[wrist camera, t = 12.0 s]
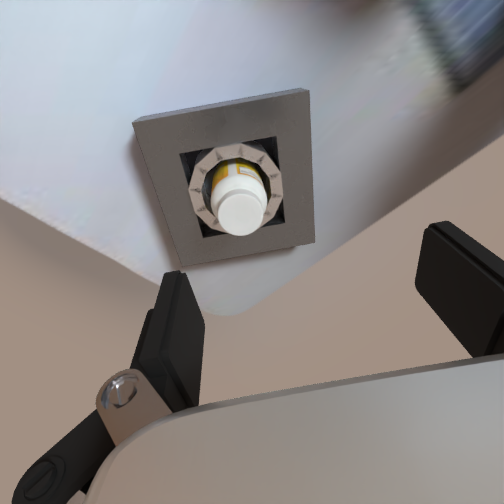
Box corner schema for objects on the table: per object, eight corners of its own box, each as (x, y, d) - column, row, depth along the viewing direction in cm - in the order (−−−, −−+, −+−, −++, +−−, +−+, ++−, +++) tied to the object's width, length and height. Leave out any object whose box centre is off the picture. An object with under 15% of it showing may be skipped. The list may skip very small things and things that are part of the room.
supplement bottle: (255, 151, 32) (267, 179, 24) (262, 196, 34) (276, 236, 26) (206, 161, 32) (202, 193, 24) (218, 205, 35) (218, 248, 26)
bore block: (300, 88, 29) (310, 90, 25) (307, 228, 37) (316, 244, 34) (140, 116, 29) (130, 123, 25) (185, 250, 37) (181, 269, 34)
